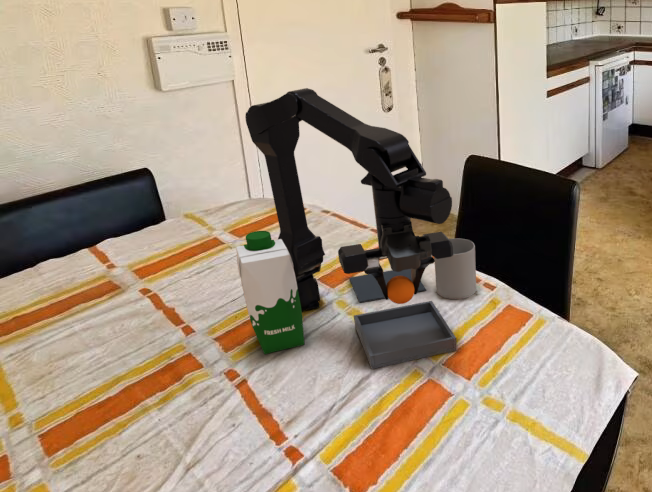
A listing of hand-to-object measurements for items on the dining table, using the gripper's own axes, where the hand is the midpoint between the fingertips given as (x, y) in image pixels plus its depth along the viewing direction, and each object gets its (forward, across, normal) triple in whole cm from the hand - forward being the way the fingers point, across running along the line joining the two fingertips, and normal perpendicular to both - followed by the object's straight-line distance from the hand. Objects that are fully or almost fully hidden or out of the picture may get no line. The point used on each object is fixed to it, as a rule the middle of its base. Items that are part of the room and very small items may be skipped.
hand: (400, 296), depth 110 cm
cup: (+9, +15, +15) cm, 23 cm away
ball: (-1, 0, 0) cm, 1 cm away
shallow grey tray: (+9, 0, 0) cm, 9 cm away
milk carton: (+9, -21, +8) cm, 24 cm away
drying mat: (+9, +2, +23) cm, 25 cm away
